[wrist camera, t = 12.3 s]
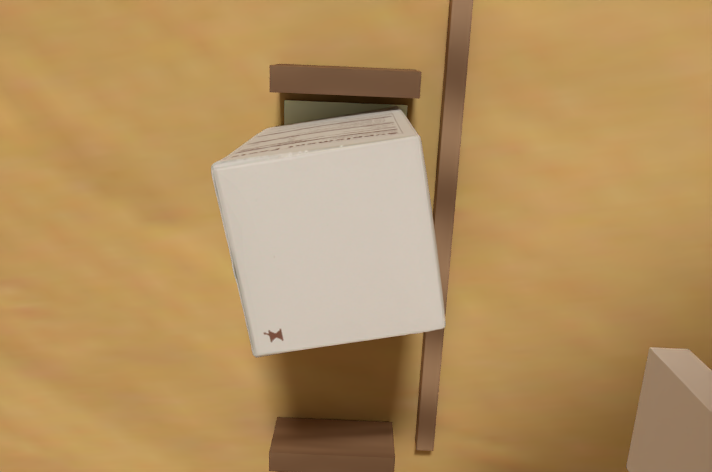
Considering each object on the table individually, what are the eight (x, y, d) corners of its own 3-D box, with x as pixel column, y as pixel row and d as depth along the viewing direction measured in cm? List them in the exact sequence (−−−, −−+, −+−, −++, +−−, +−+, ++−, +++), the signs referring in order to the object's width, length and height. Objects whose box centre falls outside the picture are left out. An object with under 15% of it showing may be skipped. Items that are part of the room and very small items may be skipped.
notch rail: (280, -167, 29) (270, -195, 26) (483, -158, 29) (499, -185, 26) (277, 434, 38) (269, 471, 35) (431, 440, 38) (438, 478, 35)
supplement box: (419, 237, 34) (450, 337, 22) (287, 255, 35) (247, 364, 23) (402, 101, 32) (426, 132, 20) (261, 123, 33) (202, 165, 21)
